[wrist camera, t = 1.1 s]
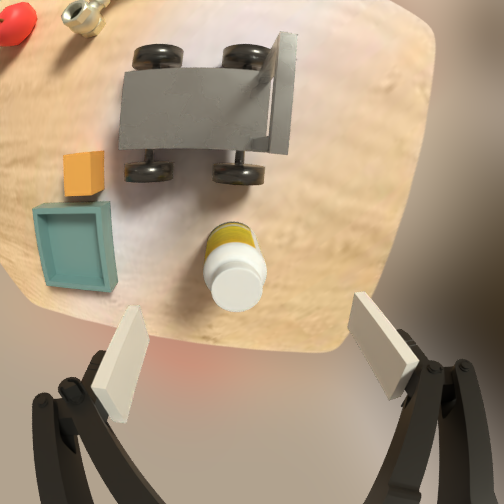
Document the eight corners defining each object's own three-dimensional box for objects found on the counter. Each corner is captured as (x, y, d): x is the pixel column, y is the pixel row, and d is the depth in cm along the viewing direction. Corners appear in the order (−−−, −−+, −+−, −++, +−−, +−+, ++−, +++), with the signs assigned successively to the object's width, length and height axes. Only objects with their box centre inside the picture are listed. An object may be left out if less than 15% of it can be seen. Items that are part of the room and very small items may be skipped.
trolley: (133, 176, 30) (54, 213, 14) (142, 60, 25) (75, 3, 8) (260, 179, 32) (297, 219, 16) (270, 62, 27) (315, -7, 10)
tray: (55, 276, 34) (46, 285, 31) (43, 203, 30) (32, 208, 27) (118, 281, 36) (111, 292, 33) (110, 201, 31) (100, 206, 28)
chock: (79, 189, 30) (64, 196, 26) (78, 152, 28) (63, 155, 25) (104, 189, 31) (91, 195, 27) (104, 150, 29) (90, 152, 25)
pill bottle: (200, 229, 34) (189, 270, 23) (249, 213, 34) (261, 248, 23) (217, 273, 36) (215, 327, 26) (263, 258, 36) (279, 308, 26)
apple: (47, 1, 16) (22, -14, 9) (39, 38, 20) (9, 26, 12) (13, 22, 16) (-14, 12, 9) (5, 58, 19) (-25, 53, 12)
